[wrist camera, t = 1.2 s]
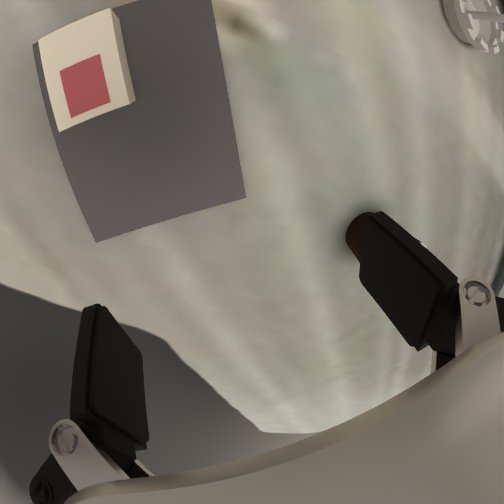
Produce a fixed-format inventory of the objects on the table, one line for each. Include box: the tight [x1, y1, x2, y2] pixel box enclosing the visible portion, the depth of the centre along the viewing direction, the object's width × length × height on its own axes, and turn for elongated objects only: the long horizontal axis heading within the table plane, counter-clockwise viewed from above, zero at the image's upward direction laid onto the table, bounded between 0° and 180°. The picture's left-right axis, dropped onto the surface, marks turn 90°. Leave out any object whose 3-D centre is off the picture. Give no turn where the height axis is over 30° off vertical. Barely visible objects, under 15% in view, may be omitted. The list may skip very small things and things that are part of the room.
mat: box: [33, 0, 246, 243], centre depth 24 cm, size 24×18×1 cm
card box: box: [38, 8, 136, 132], centre depth 18 cm, size 9×6×5 cm
